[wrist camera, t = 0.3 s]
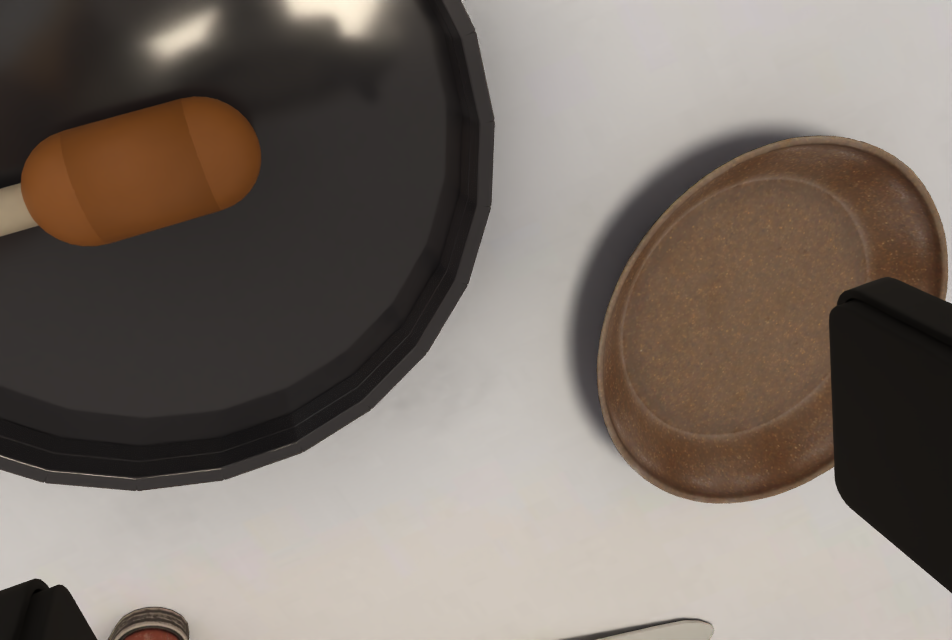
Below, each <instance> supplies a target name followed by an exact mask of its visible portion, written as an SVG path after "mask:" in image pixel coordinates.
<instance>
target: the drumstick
mask: <svg viewBox="0 0 952 640" xmlns="http://www.w3.org/2000/svg"><path fill="white" fill-rule="evenodd" d="M260 166H261V149H260V145H259V140H258V138H257V135H256V133H255V131H254V129H253V127H252V126H251V124H250V123H249V122H248V120H247V119H246V118H245V117H244V116H243V115H242V114H241V113H240V112H239V111H238V110H236V109H235V108H233V107H232V106H230V105H229V104H227V103H224V102H222V101H220V100H218V99H213V98H209V97H195V96H193V97H187V98H181V99H177V100H174V101H170V102H166V103H163V104H159V105H155V106H152V107H148V108H144V109H141V110H137V111H133V112H130V113H126V114H122V115H119V116H115V117H111V118H108V119H104V120H100V121H96V122H93V123H89V124H85V125H82V126H78V127H74V128H71V129H67V130H63V131H62V132H59V133H56V134H54V135H51V136H49V137H48V138H46V139H45V140H43V141H41V142H40V143H39V144H38V145H37V146H36V147H35V148H34V149H33V150H32V152H31V153H30V155H29V157H28V158H27V160H26V162H25V164H24V167H23V171H22V175H21V183H19V184H15V185H11V186H8V187H4V188H1V189H0V237H1V236H4V235H8V234H11V233H15V232H18V231H21V230H25V229H28V228H32V227H35V226H40V227H41V228H42V229H43V230H44V231H45V232H47V233H48V234H50V235H52V236H53V237H55V238H56V239H58V240H61V241H64V242H66V243H69V244H73V245H78V246H100V245H105V244H110V243H113V242H117V241H120V240H123V239H127V238H130V237H134V236H137V235H140V234H144V233H147V232H150V231H154V230H157V229H161V228H164V227H167V226H171V225H174V224H177V223H181V222H184V221H188V220H191V219H194V218H198V217H201V216H204V215H208V214H211V213H215V212H218V211H221V210H224V209H226V208H229V207H231V206H233V205H235V204H236V203H238V202H239V201H241V200H242V199H243V198H244V197H245V196H246V195H247V194H248V193H249V192H250V190H251V189H252V187H253V186H254V184H255V183H256V180H257V178H258V175H259V172H260Z"/></svg>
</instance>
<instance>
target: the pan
mask: <svg viewBox="0 0 952 640" xmlns="http://www.w3.org/2000/svg"><path fill="white" fill-rule="evenodd" d="M474 31H475V28H474V26H473V24H472V22H471V20H470V18H469V16H468V14H467V12H466V10H465V8H464V6H463V4H462V2H461V0H0V189H1V188H4V187H8V186H11V185H15V184H19V183H21V175H22V171H23V167H24V164H25V162H26V160H27V158H28V157H29V155H30V153H31V152H32V150H33V149H34V148H35V147H36V146H37V145H38V144H39V143H40V142H41V141H43V140H45V139H46V138H48V137H49V136H51V135H54V134H56V133H59V132H62V131H63V130H67V129H71V128H74V127H78V126H82V125H85V124H89V123H93V122H96V121H100V120H104V119H108V118H111V117H115V116H119V115H122V114H126V113H130V112H133V111H137V110H141V109H144V108H148V107H152V106H155V105H159V104H163V103H166V102H170V101H174V100H177V99H181V98H187V97H193V96H195V97H209V98H213V99H218V100H220V101H222V102H224V103H227V104H229V105H230V106H232V107H233V108H235V109H236V110H238V111H239V112H240V113H241V114H242V115H243V116H244V117H245V118H246V119H247V120H248V122H249V123H250V124H251V126H252V127H253V129H254V131H255V133H256V135H257V138H258V140H259V145H260V149H261V166H260V172H259V175H258V178H257V180H256V183H255V184H254V186H253V187H252V189H251V190H250V192H249V193H248V194H247V195H246V196H245V197H244V198H243V199H242V200H241V201H239V202H238V203H236V204H235V205H233V206H231V207H229V208H226V209H224V210H221V211H218V212H215V213H211V214H208V215H204V216H201V217H198V218H194V219H191V220H188V221H184V222H181V223H177V224H174V225H171V226H167V227H164V228H161V229H157V230H154V231H150V232H147V233H144V234H140V235H137V236H134V237H130V238H127V239H123V240H120V241H117V242H113V243H110V244H105V245H100V246H78V245H73V244H69V243H66V242H64V241H61V240H58V239H56V238H55V237H53V236H52V235H50V234H48V233H47V232H45V231H44V230H43V229H42V228H41V227H40V226H35V227H32V228H28V229H25V230H21V231H18V232H15V233H11V234H8V235H4V236H1V237H0V470H3V471H6V472H10V473H13V474H16V475H20V476H23V477H26V478H29V479H33V480H36V481H39V482H45V483H50V484H61V485H73V486H84V487H96V488H108V489H119V490H131V491H136V490H137V491H142V490H150V489H158V488H166V487H174V486H182V485H190V484H198V483H206V482H215V481H222V480H224V479H225V480H226V479H229V478H232V477H235V476H237V475H240V474H243V473H246V472H249V471H252V470H254V469H257V468H260V467H263V466H266V465H269V464H272V463H274V462H277V461H280V460H283V459H286V458H289V457H292V456H294V455H297V454H300V453H302V452H305V451H306V450H308V449H309V448H311V447H313V446H314V445H316V444H317V443H319V442H321V441H322V440H324V439H325V438H327V437H328V436H330V435H332V434H333V433H335V432H336V431H338V430H340V429H341V428H343V427H344V426H346V425H348V424H349V423H351V422H352V421H354V420H356V419H357V418H359V417H360V416H362V415H364V414H365V413H367V412H368V411H370V410H371V409H372V408H374V406H375V405H376V404H377V403H378V402H379V401H380V400H381V399H382V398H383V397H384V396H385V395H386V394H387V393H388V392H389V391H390V390H391V389H392V388H393V387H394V386H395V385H396V384H397V383H398V382H399V381H400V380H401V379H402V378H403V377H404V376H405V375H406V374H407V373H408V372H409V371H410V370H411V369H412V368H413V367H414V366H415V365H416V364H417V363H418V362H419V361H420V360H421V359H422V358H423V357H424V356H425V355H426V352H428V351H429V349H430V347H431V346H432V344H433V342H434V341H435V339H436V337H437V336H438V334H439V332H440V331H441V329H442V327H443V326H444V324H445V322H446V321H447V319H448V317H449V316H450V314H451V312H452V311H453V309H454V307H455V306H456V304H457V302H458V301H459V299H460V297H461V296H462V294H463V292H464V290H465V289H466V287H467V284H468V283H469V280H470V276H471V273H472V270H473V266H474V263H475V259H476V256H477V253H478V249H479V246H480V243H481V239H482V236H483V233H484V229H485V226H486V223H487V219H488V216H489V213H490V209H491V207H490V206H491V203H492V178H493V153H494V128H495V122H494V115H493V110H492V105H491V100H490V96H489V91H488V86H487V81H486V77H485V72H484V67H483V63H482V58H481V53H480V48H479V44H478V39H477V34H476V32H474Z"/></svg>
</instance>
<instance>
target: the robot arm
mask: <svg viewBox="0 0 952 640" xmlns="http://www.w3.org/2000/svg"><path fill="white" fill-rule="evenodd" d="M829 339H830V365H831V392H832V418H833V445H834V471H835V482H836V486H837V489H838V491H839V493H840V495H841V497H842V499H843V500H844V501H845V503H846V504H847V505H848V506H849V507H850V508H851V509H852V510H853V511H855V512H856V513H857V514H858V515H859V516H860V517H862V518H863V519H864V520H865V521H866V522H868V523H869V524H870V525H871V526H872V527H874V528H875V529H876V530H877V531H878V532H880V533H881V534H882V535H883V536H884V537H885V538H887V539H888V540H889V541H890V542H891V543H893V544H894V545H895V546H896V547H897V548H899V549H900V550H901V551H902V552H903V553H905V554H906V555H907V556H908V557H909V558H911V559H912V560H913V561H914V562H915V563H916V564H918V565H919V566H920V567H921V568H922V569H924V570H925V571H926V572H927V573H928V574H930V575H931V576H932V577H933V578H934V579H936V580H937V581H938V582H939V583H940V584H941V585H943V586H944V587H945V588H946V589H947V590H949V591H950V592H951V593H952V304H951V303H949V302H946V301H944V300H942V299H940V298H938V297H935V296H933V295H931V294H929V293H926V292H924V291H922V290H920V289H918V288H915V287H913V286H911V285H909V284H906V283H904V282H902V281H900V280H898V279H895V278H891V277H884V278H880V279H877V280H874V281H871V282H868V283H866V284H863V285H860V286H857V287H854V288H852V289H849V290H846V291H844V292H843V293H842V294H841V295H840V296H839V298H838V301H837V306H835V307H834V308H833V309H832V310H831V312H830V314H829ZM0 640H97V638H96V637H95V635H94V633H93V632H92V630H91V628H90V626H89V625H88V623H87V621H86V619H85V618H84V616H83V614H82V612H81V611H80V609H79V607H78V606H77V604H76V602H75V600H74V599H73V597H72V595H71V594H70V592H69V591H68V589H67V588H66V587H64V586H63V585H56V586H54V587H51V588H49V587H48V586H47V584H46V583H44V582H43V581H42V580H41V579H32V580H30V581H27V582H24V583H21V584H18V585H16V586H13V587H10V588H7V589H4V590H1V591H0Z"/></svg>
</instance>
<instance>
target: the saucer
mask: <svg viewBox="0 0 952 640" xmlns="http://www.w3.org/2000/svg"><path fill="white" fill-rule="evenodd" d="M884 277H891V278H895V279H898V280H900V281H902V282H904V283H906V284H909V285H911V286H913V287H915V288H918V289H920V290H922V291H924V292H926V293H929V294H931V295H933V296H935V297H938V298H940V299H942V300H944V301H945V298H946V293H947V281H948V254H947V245H946V238H945V233H944V229H943V225H942V222H941V219H940V216H939V213H938V211H937V209H936V206H935V204H934V202H933V200H932V198H931V196H930V194H929V192H928V191H927V190H926V188H925V186H924V184H923V183H922V182H921V180H920V179H919V178H918V177H917V176H916V174H915V173H914V172H913V171H912V170H911V169H910V168H909V167H908V166H907V165H905V164H904V163H903V162H901V161H900V160H899V159H897V158H896V157H895V156H893V155H891V154H890V153H888V152H886V151H884V150H882V149H880V148H878V147H875V146H873V145H870V144H868V143H865V142H862V141H857V140H853V139H850V138H844V137H837V136H804V137H797V138H790V139H786V140H782V141H778V142H774V143H771V144H768V145H765V146H762V147H760V148H757V149H755V150H752V151H749V152H747V153H745V154H743V155H741V156H738V157H736V158H734V159H732V160H731V161H729V162H727V163H726V164H724V165H722V166H720V167H718V168H717V169H715V170H714V171H712V172H711V173H709V174H707V175H706V176H705V177H703V178H702V179H701V180H700V181H698V182H697V183H696V184H694V185H693V186H692V187H691V188H689V189H688V190H687V191H686V192H685V193H684V194H683V195H681V196H680V197H679V198H678V199H677V200H676V201H675V202H674V203H673V204H672V205H671V206H670V207H669V208H668V209H667V210H666V211H665V212H664V213H663V214H662V215H661V216H660V217H659V218H658V220H657V221H656V222H655V223H654V224H653V226H652V227H651V228H650V229H649V231H648V232H647V233H646V234H645V236H644V237H643V238H642V240H641V241H640V243H639V244H638V246H637V247H636V249H635V250H634V252H633V254H632V255H631V257H630V258H629V260H628V262H627V264H626V265H625V267H624V269H623V271H622V273H621V275H620V278H619V280H618V282H617V284H616V286H615V289H614V291H613V294H612V297H611V299H610V302H609V305H608V308H607V311H606V315H605V319H604V322H603V327H602V330H601V336H600V341H599V350H598V357H597V385H598V395H599V401H600V406H601V410H602V414H603V418H604V422H605V425H606V427H607V430H608V432H609V435H610V437H611V439H612V441H613V443H614V445H615V446H616V448H617V450H618V451H619V453H620V454H621V455H622V457H623V458H624V459H625V461H626V462H627V463H628V464H629V465H630V466H631V467H632V468H633V469H634V470H635V471H636V472H637V473H638V474H639V475H641V476H642V477H643V478H644V479H646V480H647V481H648V482H650V483H651V484H653V485H655V486H656V487H658V488H660V489H662V490H664V491H666V492H668V493H670V494H673V495H675V496H678V497H682V498H685V499H689V500H693V501H698V502H704V503H737V502H746V501H753V500H758V499H763V498H767V497H771V496H775V495H778V494H781V493H783V492H786V491H788V490H791V489H793V488H796V487H798V486H800V485H803V484H805V483H807V482H809V481H811V480H812V479H814V478H816V477H817V476H819V475H821V474H823V473H825V472H826V471H828V470H830V469H831V468H833V467H834V445H833V418H832V392H831V365H830V339H829V314H830V312H831V310H832V309H833V308H834V307H835V306H837V301H838V298H839V296H840V295H841V294H842V293H843V292H844V291H846V290H849V289H852V288H854V287H857V286H860V285H863V284H866V283H868V282H871V281H874V280H877V279H880V278H884Z"/></svg>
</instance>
